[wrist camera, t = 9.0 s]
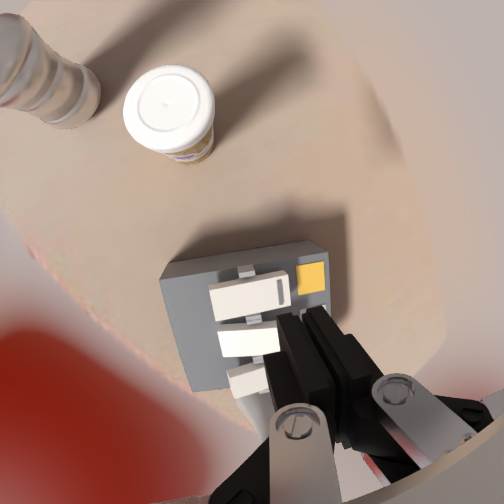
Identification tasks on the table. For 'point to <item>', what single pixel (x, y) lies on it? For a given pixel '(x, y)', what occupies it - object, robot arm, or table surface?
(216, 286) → the switch
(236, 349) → the switch
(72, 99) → the plastic bottle
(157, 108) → the sprinkles bottle
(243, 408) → the flask
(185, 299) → the console
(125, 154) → the table surface
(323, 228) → the table surface
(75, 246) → the table surface
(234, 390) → the switch
